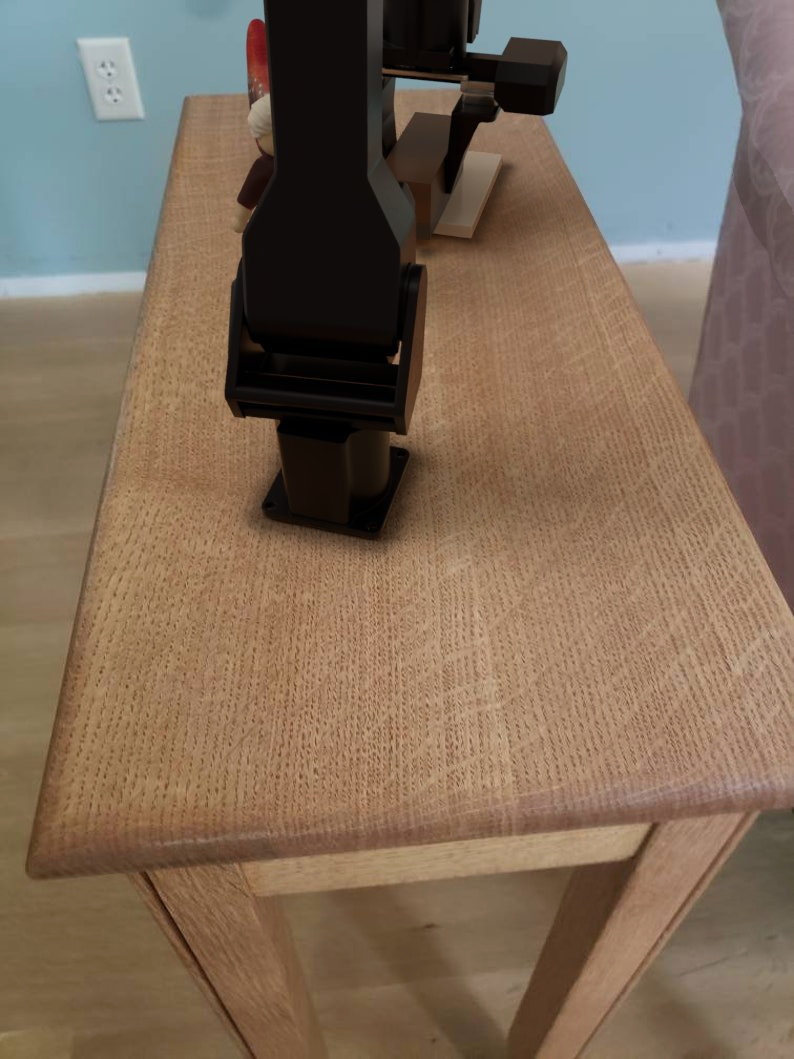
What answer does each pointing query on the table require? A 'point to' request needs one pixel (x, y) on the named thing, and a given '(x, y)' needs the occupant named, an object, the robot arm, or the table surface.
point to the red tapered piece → (257, 64)
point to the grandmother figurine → (256, 164)
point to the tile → (470, 194)
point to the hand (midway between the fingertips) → (421, 188)
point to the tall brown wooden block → (424, 167)
